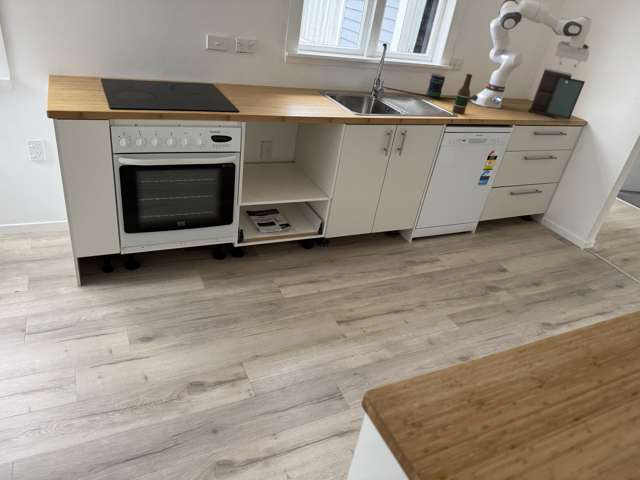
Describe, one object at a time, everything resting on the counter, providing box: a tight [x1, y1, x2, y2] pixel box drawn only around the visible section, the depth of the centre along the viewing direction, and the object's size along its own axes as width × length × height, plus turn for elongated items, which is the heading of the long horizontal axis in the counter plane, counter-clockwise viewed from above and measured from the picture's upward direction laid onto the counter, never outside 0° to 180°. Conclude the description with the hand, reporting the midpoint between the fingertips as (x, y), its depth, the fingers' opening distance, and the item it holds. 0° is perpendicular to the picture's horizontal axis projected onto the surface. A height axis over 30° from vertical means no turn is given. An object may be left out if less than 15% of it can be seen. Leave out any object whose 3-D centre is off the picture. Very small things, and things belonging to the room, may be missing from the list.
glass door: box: [545, 76, 586, 120], centre depth 338 cm, size 9×17×26 cm, turn 65°
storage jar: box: [426, 73, 446, 100], centre depth 339 cm, size 10×10×15 cm
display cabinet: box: [528, 67, 573, 119], centre depth 349 cm, size 14×18×30 cm
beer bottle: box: [452, 73, 473, 115], centre depth 305 cm, size 8×8×24 cm
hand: (567, 65), depth 323 cm, fingers open, 8 cm apart
